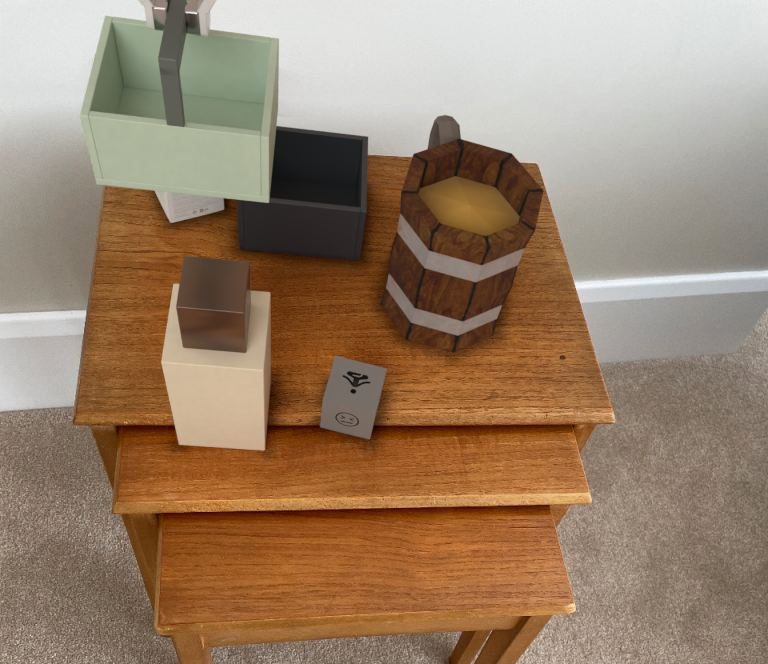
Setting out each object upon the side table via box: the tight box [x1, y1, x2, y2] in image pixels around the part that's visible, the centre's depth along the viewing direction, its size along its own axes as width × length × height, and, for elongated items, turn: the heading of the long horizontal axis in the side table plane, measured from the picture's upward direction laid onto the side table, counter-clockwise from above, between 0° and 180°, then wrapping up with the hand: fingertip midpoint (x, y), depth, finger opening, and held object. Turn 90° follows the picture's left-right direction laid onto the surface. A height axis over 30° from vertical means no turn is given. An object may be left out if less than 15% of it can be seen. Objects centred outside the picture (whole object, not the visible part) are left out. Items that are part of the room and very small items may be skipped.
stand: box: [160, 282, 272, 452], centre depth 69 cm, size 8×8×13 cm
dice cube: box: [319, 355, 388, 440], centre depth 75 cm, size 5×5×5 cm
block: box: [176, 255, 252, 353], centre depth 61 cm, size 5×5×5 cm
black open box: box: [236, 125, 369, 262], centre depth 84 cm, size 13×11×7 cm
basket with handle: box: [79, 0, 280, 203], centre depth 57 cm, size 13×11×11 cm
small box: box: [154, 191, 225, 224], centre depth 80 cm, size 8×6×13 cm
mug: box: [380, 114, 544, 353], centre depth 79 cm, size 20×14×15 cm
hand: (179, 28), depth 54 cm, fingers closed on basket with handle
